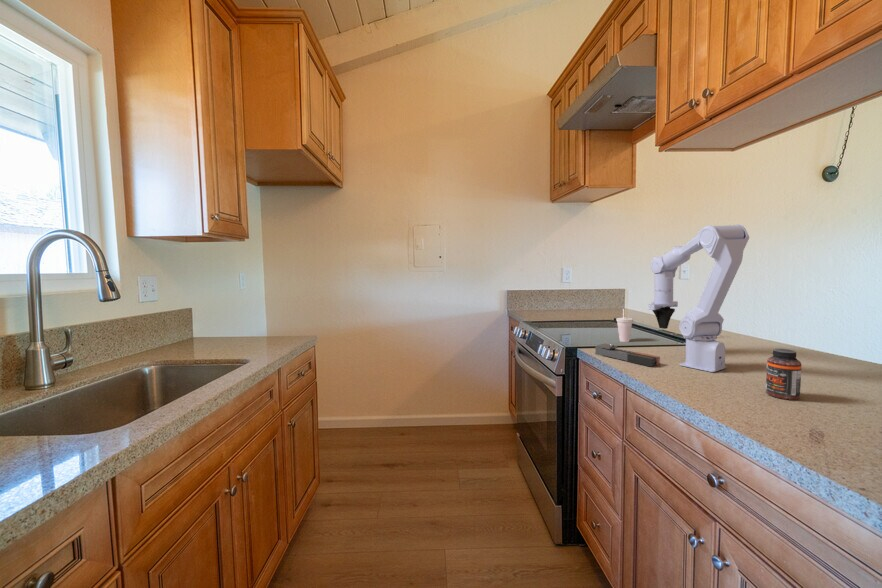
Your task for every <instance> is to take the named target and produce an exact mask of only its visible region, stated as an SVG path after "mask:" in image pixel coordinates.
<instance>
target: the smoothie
mask: <svg viewBox="0 0 882 588" xmlns="http://www.w3.org/2000/svg"><path fill="white" fill-rule="evenodd" d="M615 320H616V322H617V323H616V324H617V331H618V337H619V342H622V343H629V342H630V341H631V334H632V333H631V332H632V326H633V322H634V319H633V318H632V317H625V308H622V317H617V318H615Z"/></svg>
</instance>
